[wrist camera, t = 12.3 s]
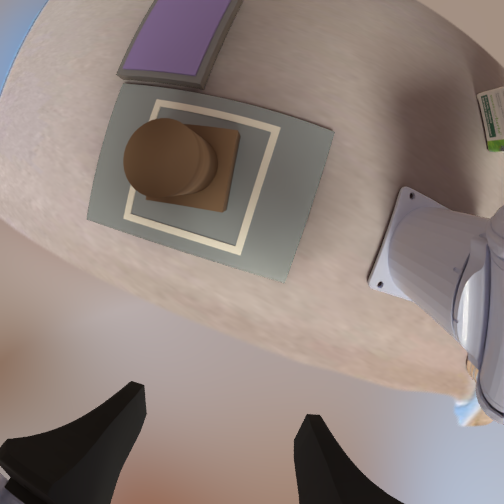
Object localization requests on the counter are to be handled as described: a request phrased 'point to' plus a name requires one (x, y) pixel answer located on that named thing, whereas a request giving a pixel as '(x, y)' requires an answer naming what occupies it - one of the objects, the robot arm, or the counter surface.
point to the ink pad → (178, 41)
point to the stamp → (182, 163)
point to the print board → (242, 188)
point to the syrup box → (493, 117)
